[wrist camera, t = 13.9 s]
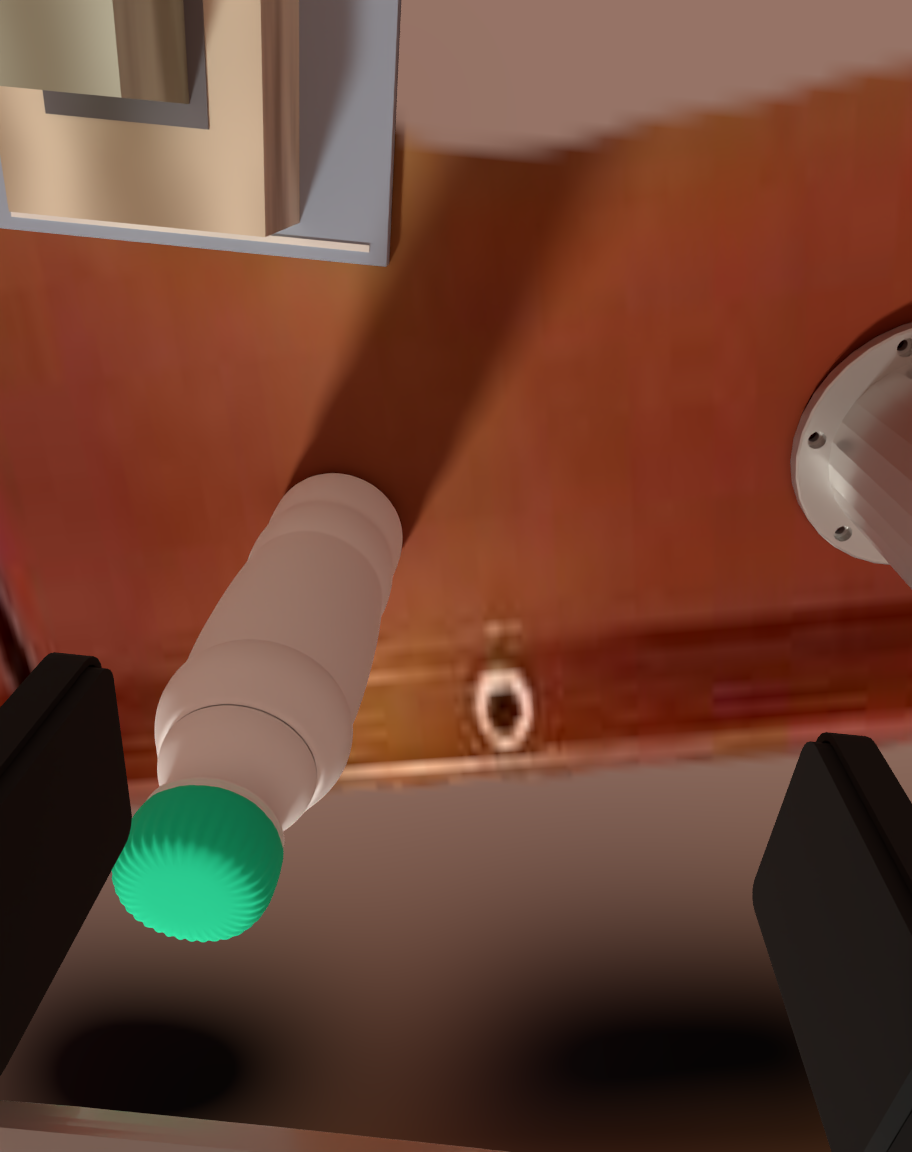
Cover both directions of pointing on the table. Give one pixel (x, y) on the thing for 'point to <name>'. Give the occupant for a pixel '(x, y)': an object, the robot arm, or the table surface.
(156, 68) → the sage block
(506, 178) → the table surface
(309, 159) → the board
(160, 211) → the plinth
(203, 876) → the water bottle
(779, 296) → the table surface
